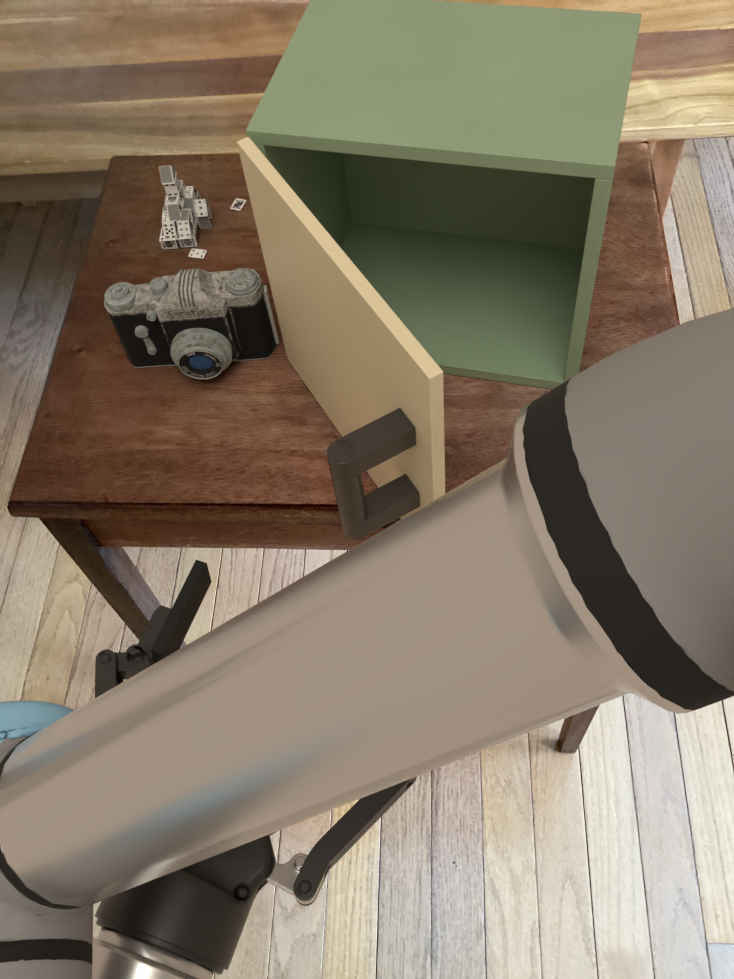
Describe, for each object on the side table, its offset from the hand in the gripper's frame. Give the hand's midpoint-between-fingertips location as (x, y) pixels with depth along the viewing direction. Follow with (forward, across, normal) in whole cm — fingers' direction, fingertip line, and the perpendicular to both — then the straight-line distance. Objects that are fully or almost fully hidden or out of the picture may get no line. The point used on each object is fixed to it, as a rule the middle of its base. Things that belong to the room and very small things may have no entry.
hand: (302, 602), depth 59 cm
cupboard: (+40, 0, -12) cm, 42 cm away
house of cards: (+43, -28, -15) cm, 54 cm away
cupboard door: (+18, -5, -13) cm, 23 cm away
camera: (+26, -21, -15) cm, 37 cm away
